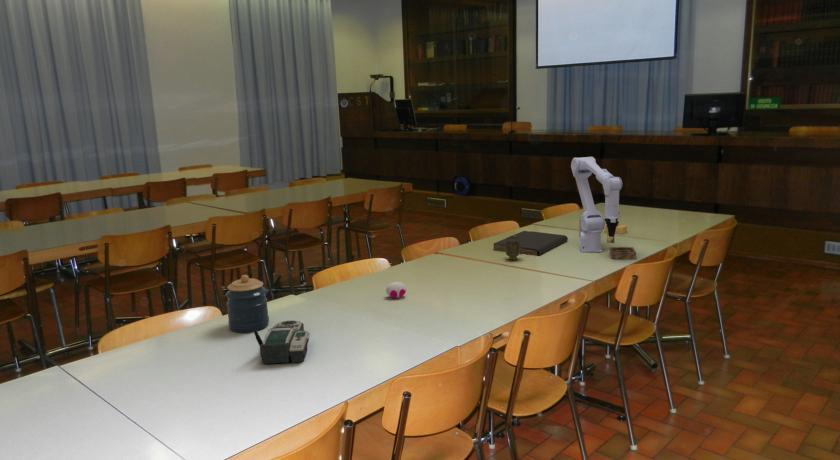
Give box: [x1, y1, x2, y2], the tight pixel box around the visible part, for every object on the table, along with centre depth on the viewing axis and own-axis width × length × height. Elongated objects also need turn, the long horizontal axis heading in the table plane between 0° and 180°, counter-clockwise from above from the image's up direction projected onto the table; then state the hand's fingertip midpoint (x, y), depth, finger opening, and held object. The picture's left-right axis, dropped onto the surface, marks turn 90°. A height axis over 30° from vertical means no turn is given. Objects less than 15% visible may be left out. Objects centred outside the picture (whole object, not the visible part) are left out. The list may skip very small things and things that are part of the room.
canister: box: [225, 274, 270, 334], centre depth 205 cm, size 13×13×18 cm
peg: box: [606, 228, 616, 244], centre depth 275 cm, size 3×3×8 cm
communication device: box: [253, 319, 311, 365], centre depth 188 cm, size 14×28×10 cm, turn 4°
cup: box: [504, 241, 521, 261], centre depth 278 cm, size 8×7×8 cm
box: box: [609, 246, 637, 260], centre depth 278 cm, size 10×10×3 cm
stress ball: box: [385, 281, 407, 300], centre depth 231 cm, size 8×8×7 cm
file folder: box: [492, 230, 569, 257], centre depth 303 cm, size 33×4×24 cm
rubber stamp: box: [603, 217, 628, 235], centre depth 325 cm, size 10×6×12 cm, turn 48°
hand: (611, 235), depth 275 cm, fingers closed on peg, 3 cm apart
